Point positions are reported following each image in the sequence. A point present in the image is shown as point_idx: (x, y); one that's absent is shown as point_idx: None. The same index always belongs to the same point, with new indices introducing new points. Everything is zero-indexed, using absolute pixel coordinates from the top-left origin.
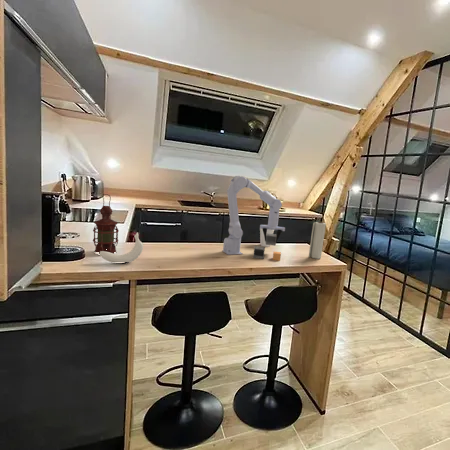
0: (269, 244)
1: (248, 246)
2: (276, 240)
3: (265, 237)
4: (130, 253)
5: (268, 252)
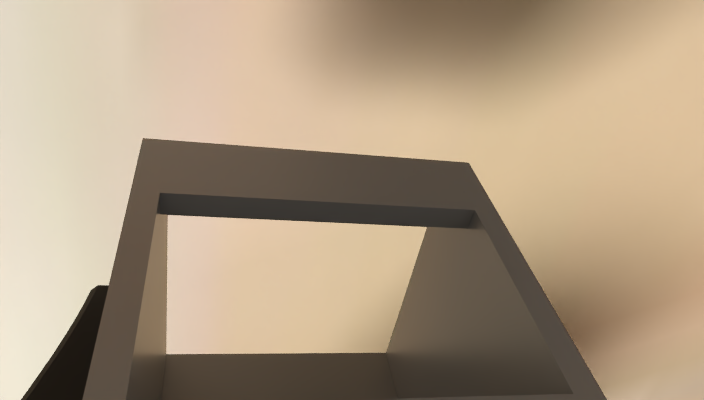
0: (351, 162)
1: None
2: None
3: None
4: None
5: None
